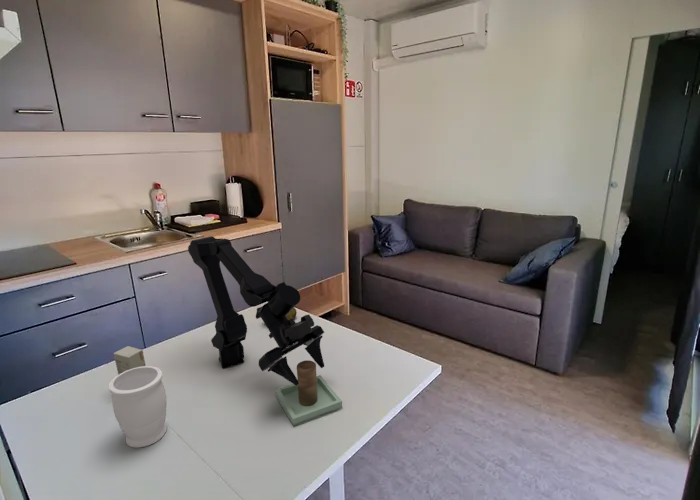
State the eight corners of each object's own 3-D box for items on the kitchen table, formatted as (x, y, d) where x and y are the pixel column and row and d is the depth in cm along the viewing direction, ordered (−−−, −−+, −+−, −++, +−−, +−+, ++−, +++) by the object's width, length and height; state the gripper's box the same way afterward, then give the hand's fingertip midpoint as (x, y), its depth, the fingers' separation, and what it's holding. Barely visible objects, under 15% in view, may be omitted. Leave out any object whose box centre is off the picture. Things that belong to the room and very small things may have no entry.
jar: (181, 424, 92) (172, 369, 88) (146, 457, 82) (134, 397, 78) (147, 415, 95) (137, 362, 91) (109, 445, 86) (96, 387, 82)
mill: (298, 406, 96) (295, 367, 94) (299, 394, 101) (297, 356, 98) (317, 405, 97) (315, 366, 94) (317, 393, 101) (316, 356, 98)
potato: (299, 324, 142) (298, 304, 140) (264, 329, 138) (262, 309, 136) (295, 315, 150) (294, 296, 147) (262, 320, 146) (260, 300, 144)
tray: (293, 426, 91) (293, 419, 90) (275, 396, 102) (275, 389, 101) (342, 408, 97) (342, 401, 96) (320, 381, 108) (320, 375, 107)
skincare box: (151, 389, 105) (144, 349, 102) (136, 398, 102) (129, 357, 98) (135, 383, 108) (127, 344, 105) (120, 392, 104) (112, 352, 101)
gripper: (262, 322, 88) (299, 382, 84) (317, 296, 102) (351, 346, 98) (244, 343, 94) (277, 399, 91) (298, 316, 109) (329, 363, 105)
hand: (310, 375), depth 96 cm, fingers open, 9 cm apart
